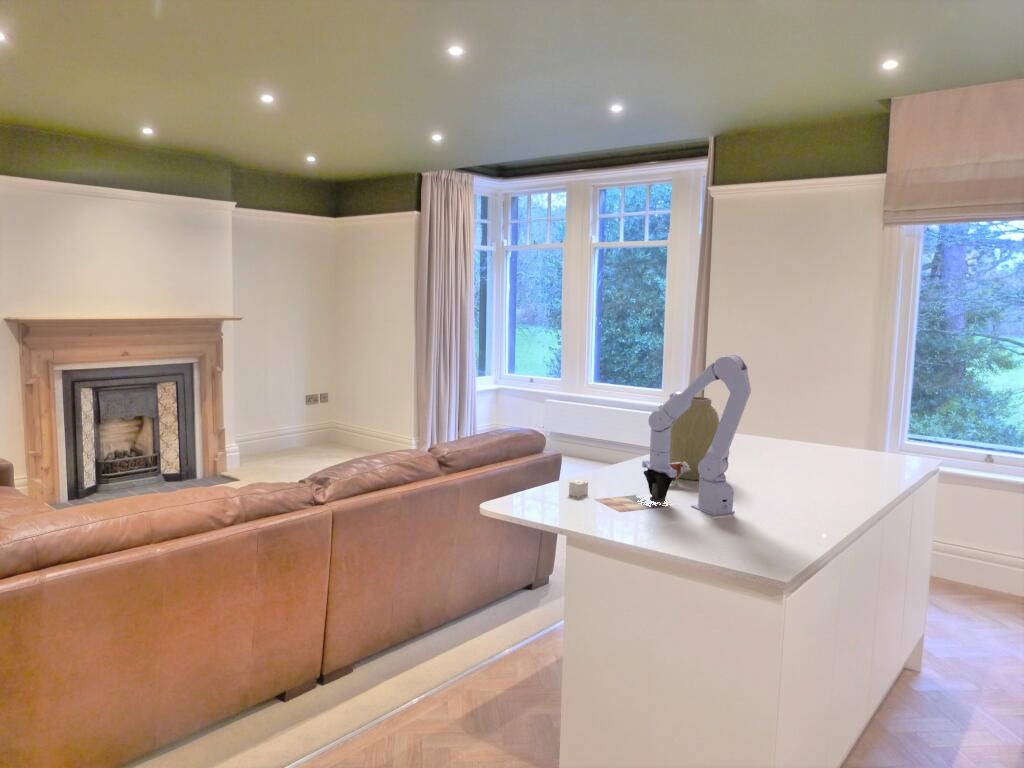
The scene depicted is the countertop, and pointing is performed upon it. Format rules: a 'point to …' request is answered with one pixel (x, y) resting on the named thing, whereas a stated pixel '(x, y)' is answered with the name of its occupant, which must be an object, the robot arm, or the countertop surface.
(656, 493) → the dark grey rounded knob
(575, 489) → the die
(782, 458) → the countertop surface
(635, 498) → the track board
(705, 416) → the vase
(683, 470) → the bull figurine
